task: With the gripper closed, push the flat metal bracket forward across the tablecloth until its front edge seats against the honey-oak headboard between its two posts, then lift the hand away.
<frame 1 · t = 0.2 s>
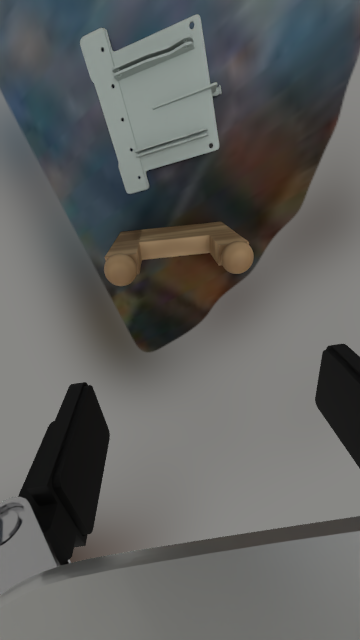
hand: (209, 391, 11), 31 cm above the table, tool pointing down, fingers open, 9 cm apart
metal bracket: (158, 111, 31), on the table
headboard: (171, 234, 38), on the table
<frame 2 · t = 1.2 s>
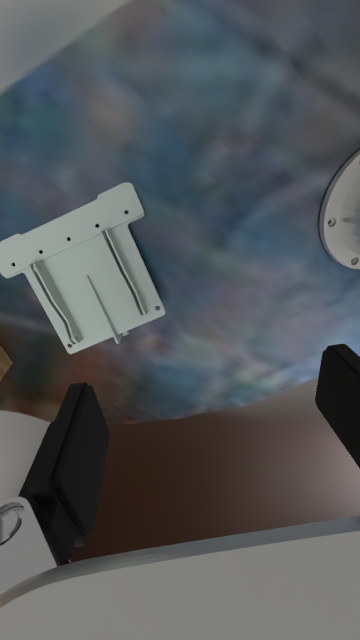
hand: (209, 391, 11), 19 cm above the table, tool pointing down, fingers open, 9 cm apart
metal bracket: (95, 273, 28), on the table
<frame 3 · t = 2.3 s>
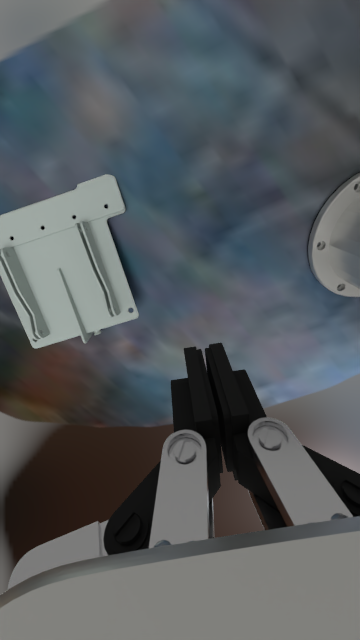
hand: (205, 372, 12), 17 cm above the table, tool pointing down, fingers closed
metal bracket: (70, 266, 27), on the table
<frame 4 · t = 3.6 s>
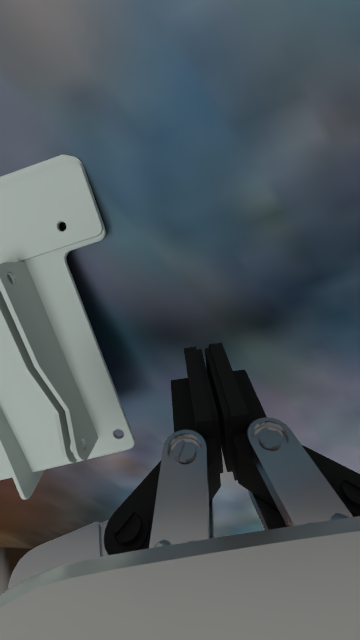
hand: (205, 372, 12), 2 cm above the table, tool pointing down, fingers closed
metal bracket: (8, 335, 14), on the table
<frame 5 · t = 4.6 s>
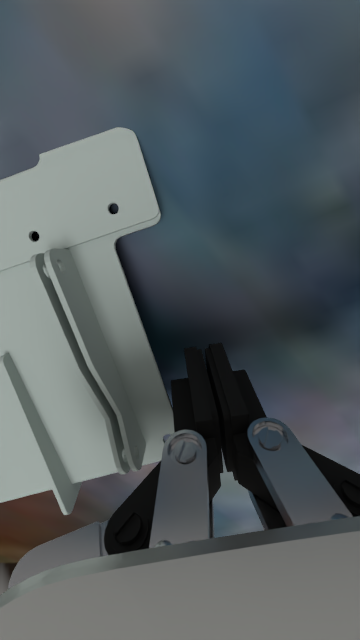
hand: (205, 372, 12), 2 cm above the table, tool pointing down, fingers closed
metal bracket: (38, 334, 13), on the table, touching gripper
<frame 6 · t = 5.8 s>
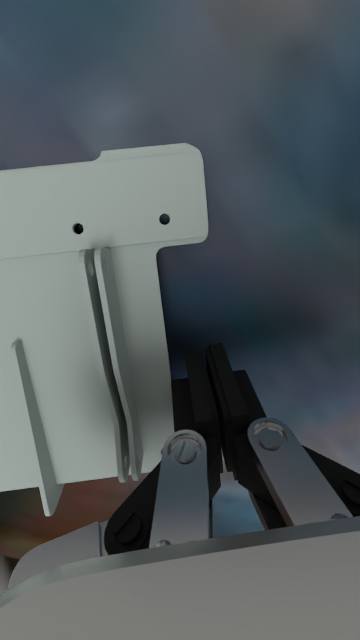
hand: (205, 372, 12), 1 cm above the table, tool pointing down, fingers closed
metal bracket: (46, 323, 12), on the table
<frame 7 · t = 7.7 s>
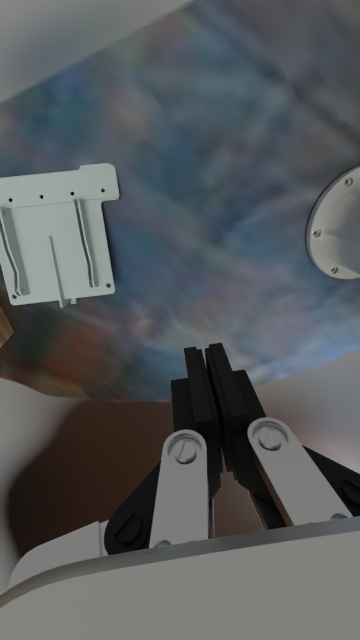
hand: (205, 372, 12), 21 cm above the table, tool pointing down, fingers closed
metal bracket: (59, 237, 29), on the table
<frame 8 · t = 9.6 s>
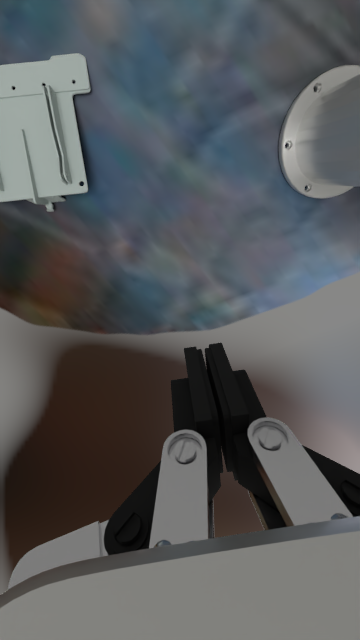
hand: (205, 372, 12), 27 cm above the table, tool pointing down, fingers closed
metal bracket: (34, 140, 30), on the table
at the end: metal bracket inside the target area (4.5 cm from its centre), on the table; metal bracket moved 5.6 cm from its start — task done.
